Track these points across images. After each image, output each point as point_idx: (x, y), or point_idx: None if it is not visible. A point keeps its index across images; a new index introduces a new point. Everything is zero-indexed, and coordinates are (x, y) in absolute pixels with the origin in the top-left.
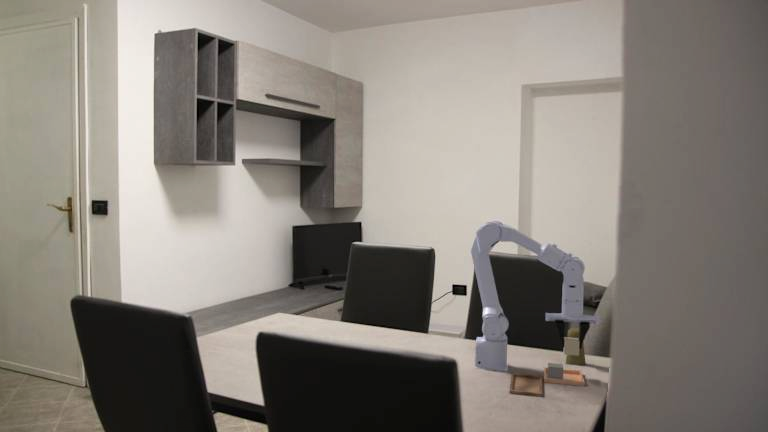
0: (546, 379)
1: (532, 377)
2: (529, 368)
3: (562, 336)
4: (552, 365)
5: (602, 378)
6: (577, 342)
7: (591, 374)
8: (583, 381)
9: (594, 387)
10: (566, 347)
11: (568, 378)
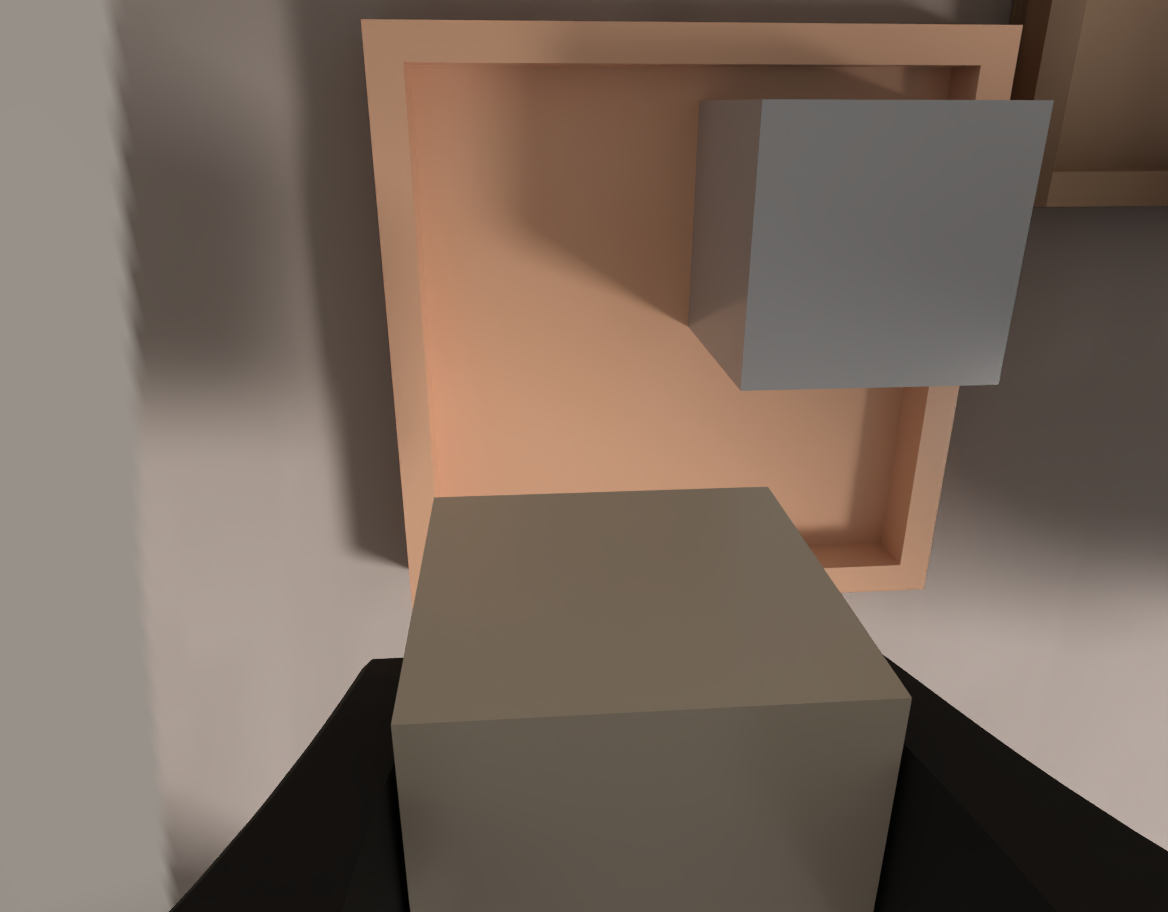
0: (975, 29)
1: (1133, 170)
2: (1037, 642)
3: (1041, 834)
4: (950, 224)
5: (142, 565)
6: (462, 700)
7: (292, 673)
8: (379, 63)
9: (223, 105)
10: (767, 574)
11: (600, 336)
